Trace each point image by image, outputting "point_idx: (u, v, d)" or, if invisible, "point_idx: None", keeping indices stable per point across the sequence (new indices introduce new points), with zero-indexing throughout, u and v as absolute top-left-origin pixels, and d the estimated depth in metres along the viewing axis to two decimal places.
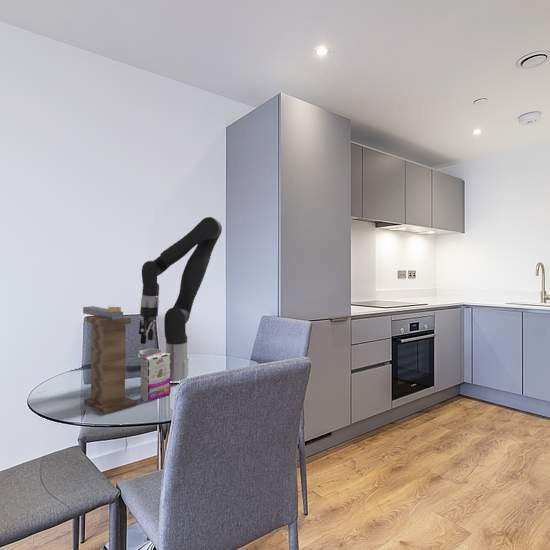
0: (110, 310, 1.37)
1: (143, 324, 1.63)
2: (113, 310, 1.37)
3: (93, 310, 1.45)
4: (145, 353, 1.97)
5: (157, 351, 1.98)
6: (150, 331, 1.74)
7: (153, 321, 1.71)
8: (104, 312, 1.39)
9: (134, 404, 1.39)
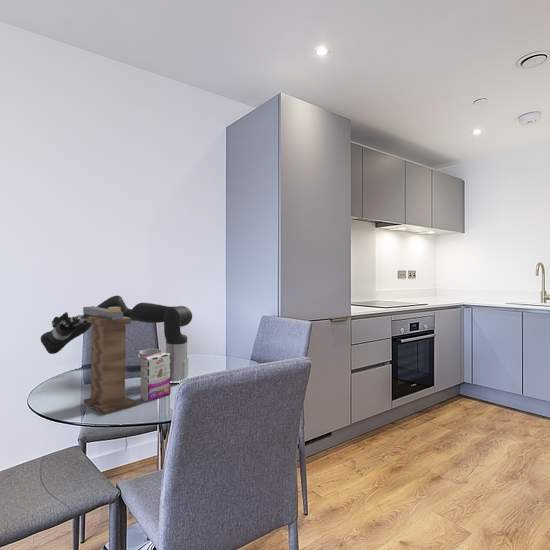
0: (110, 310, 1.37)
1: (52, 322, 1.59)
2: (113, 310, 1.37)
3: (93, 310, 1.45)
4: (145, 353, 1.97)
5: (157, 351, 1.98)
6: (84, 316, 1.64)
7: None
8: (104, 312, 1.39)
9: (134, 404, 1.39)
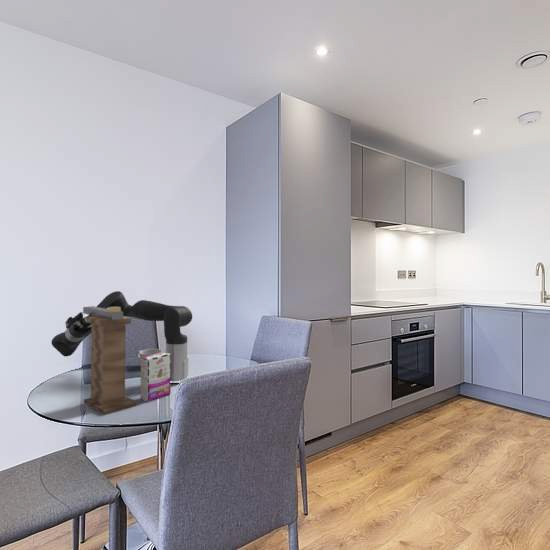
0: (110, 310, 1.37)
1: (66, 323, 1.50)
2: (113, 310, 1.37)
3: (93, 310, 1.45)
4: (145, 353, 1.97)
5: (157, 351, 1.98)
6: None
7: None
8: (104, 312, 1.39)
9: (134, 404, 1.39)
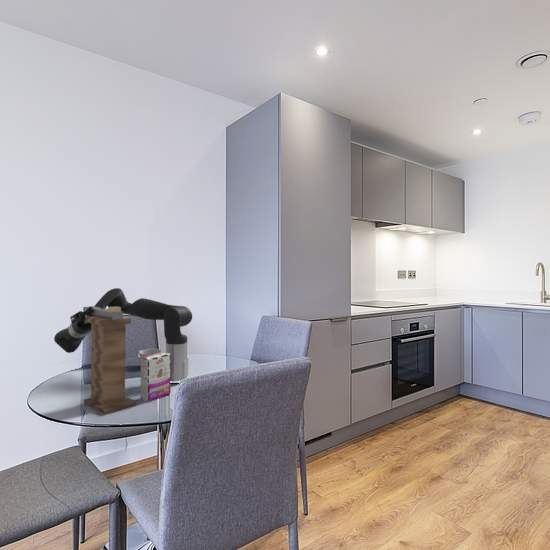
0: (110, 310, 1.37)
1: (72, 317, 1.47)
2: (113, 310, 1.36)
3: (93, 310, 1.45)
4: (145, 353, 1.97)
5: (157, 351, 1.98)
6: None
7: None
8: (104, 312, 1.39)
9: (134, 404, 1.39)
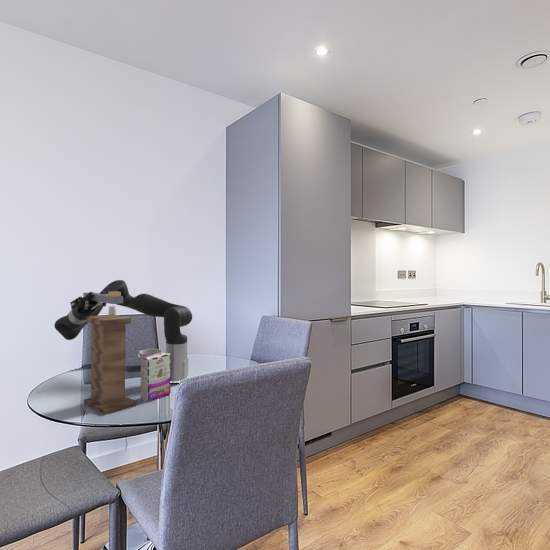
0: (110, 295, 1.37)
1: (72, 303, 1.47)
2: (113, 294, 1.36)
3: (93, 295, 1.45)
4: (145, 353, 1.97)
5: (157, 351, 1.98)
6: None
7: None
8: (104, 297, 1.39)
9: (134, 404, 1.39)
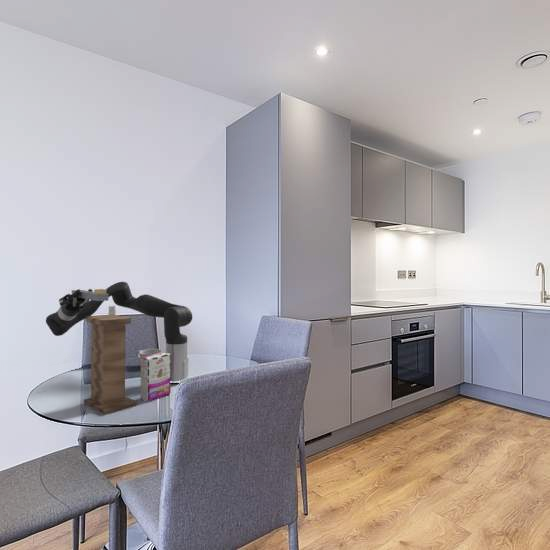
0: (96, 292, 1.44)
1: (61, 300, 1.54)
2: (99, 292, 1.44)
3: None
4: (145, 353, 1.97)
5: (157, 351, 1.98)
6: None
7: None
8: (90, 294, 1.46)
9: (134, 404, 1.39)
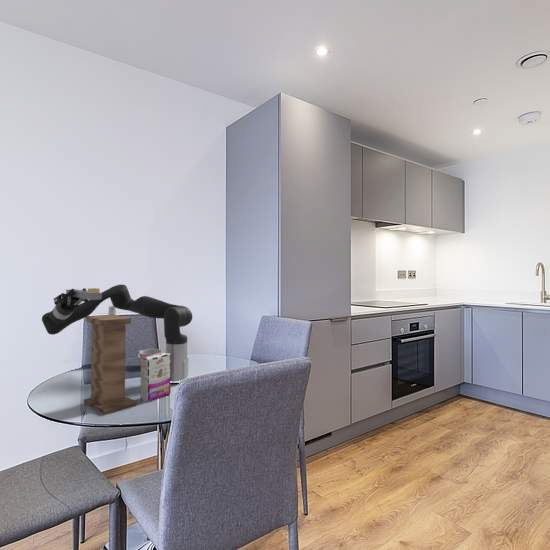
0: (89, 291, 1.48)
1: (55, 299, 1.58)
2: (92, 291, 1.47)
3: (75, 292, 1.56)
4: (145, 353, 1.97)
5: (157, 351, 1.98)
6: None
7: None
8: (84, 293, 1.50)
9: (134, 404, 1.39)
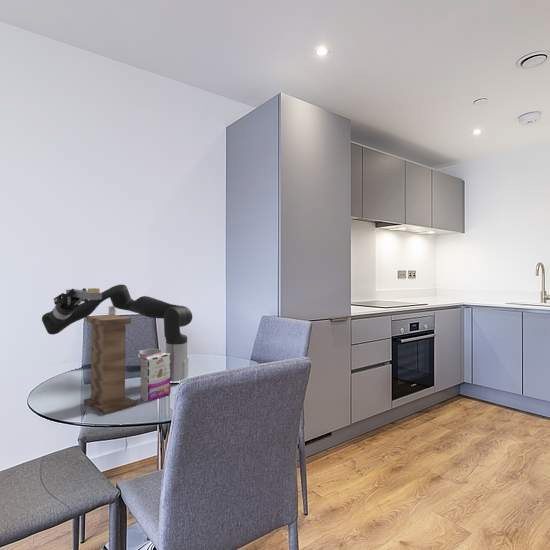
0: (89, 291, 1.48)
1: (55, 299, 1.58)
2: (92, 291, 1.47)
3: (75, 292, 1.56)
4: (145, 353, 1.97)
5: (157, 351, 1.98)
6: None
7: None
8: (84, 293, 1.50)
9: (134, 404, 1.39)
